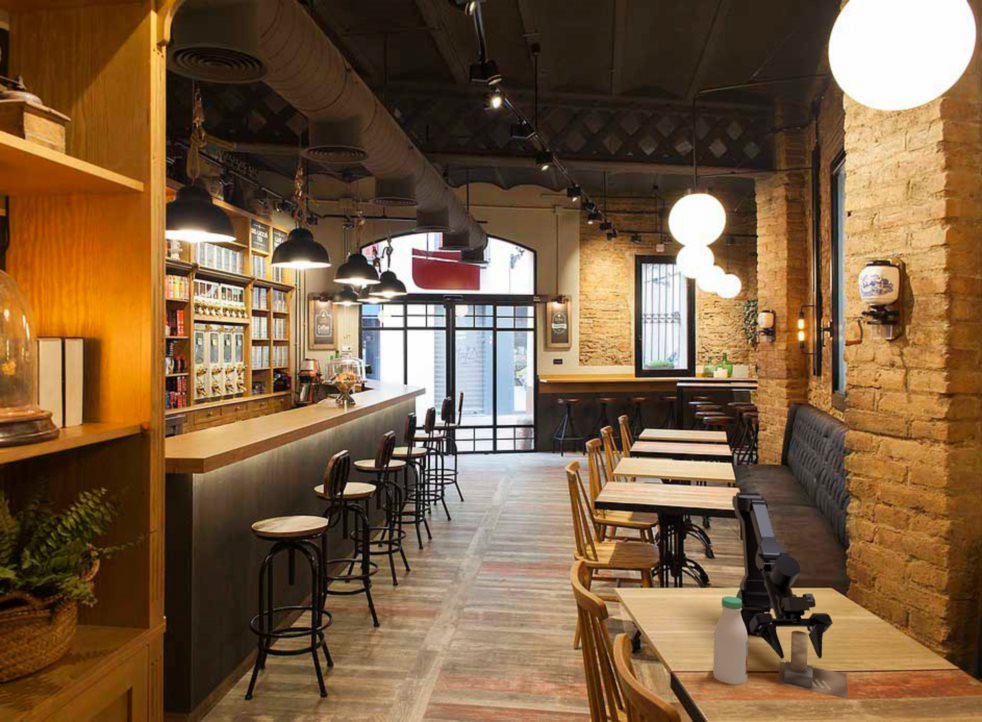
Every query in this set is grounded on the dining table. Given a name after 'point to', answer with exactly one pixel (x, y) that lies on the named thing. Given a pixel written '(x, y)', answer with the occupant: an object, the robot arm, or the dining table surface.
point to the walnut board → (821, 682)
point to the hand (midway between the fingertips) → (801, 657)
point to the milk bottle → (730, 644)
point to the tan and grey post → (799, 662)
